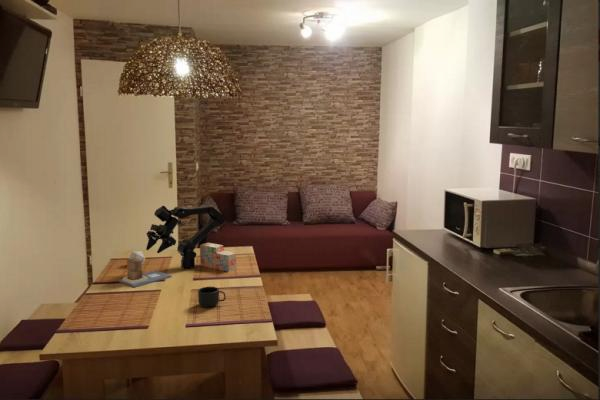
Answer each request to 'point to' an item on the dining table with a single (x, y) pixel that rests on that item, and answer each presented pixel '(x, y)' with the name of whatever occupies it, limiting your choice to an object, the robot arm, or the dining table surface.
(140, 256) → the die
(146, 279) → the board
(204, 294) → the mug
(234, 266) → the stack of blocks
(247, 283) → the dining table surface
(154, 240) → the robot arm
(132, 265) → the pillar
